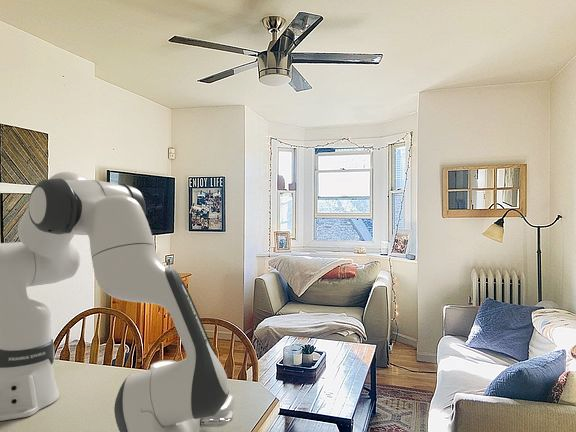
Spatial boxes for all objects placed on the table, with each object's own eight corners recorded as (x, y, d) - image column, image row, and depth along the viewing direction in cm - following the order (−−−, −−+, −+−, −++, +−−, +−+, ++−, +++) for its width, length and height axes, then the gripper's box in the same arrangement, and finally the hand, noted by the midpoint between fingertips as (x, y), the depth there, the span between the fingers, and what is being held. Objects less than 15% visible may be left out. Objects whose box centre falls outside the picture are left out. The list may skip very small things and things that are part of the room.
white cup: (170, 398, 107) (170, 370, 106) (145, 396, 108) (144, 368, 108) (182, 387, 113) (182, 360, 113) (158, 385, 115) (158, 358, 115)
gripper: (231, 406, 82) (237, 378, 96) (122, 408, 81) (143, 380, 95) (232, 439, 82) (237, 406, 96) (122, 442, 81) (144, 408, 95)
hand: (190, 393), depth 95 cm, fingers open, 8 cm apart
